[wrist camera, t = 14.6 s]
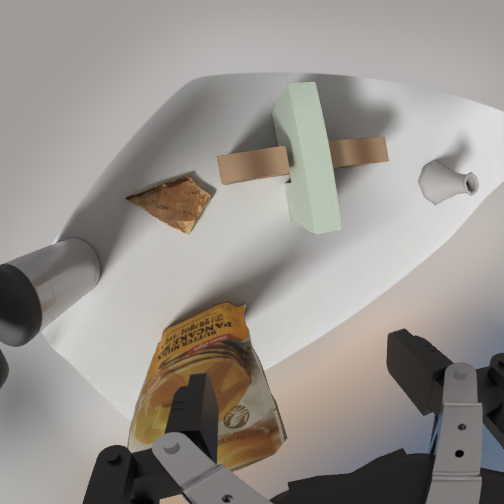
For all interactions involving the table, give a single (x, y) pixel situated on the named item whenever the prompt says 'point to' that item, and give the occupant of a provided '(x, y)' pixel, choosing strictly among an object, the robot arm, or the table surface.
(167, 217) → the shard
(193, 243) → the table surface
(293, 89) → the sage board
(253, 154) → the walnut board
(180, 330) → the pancake mix bag
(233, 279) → the table surface
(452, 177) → the flask
